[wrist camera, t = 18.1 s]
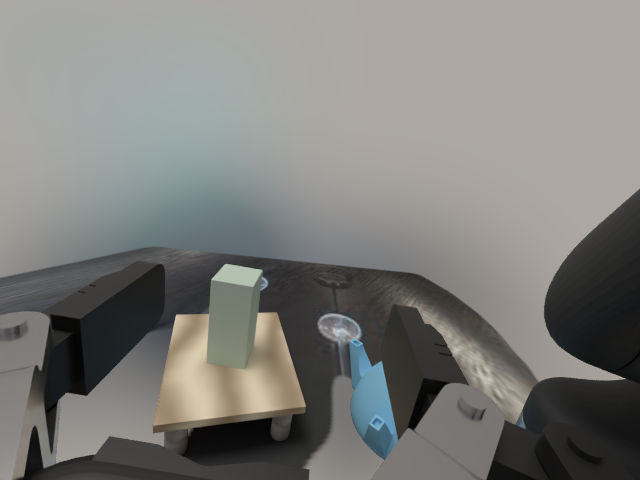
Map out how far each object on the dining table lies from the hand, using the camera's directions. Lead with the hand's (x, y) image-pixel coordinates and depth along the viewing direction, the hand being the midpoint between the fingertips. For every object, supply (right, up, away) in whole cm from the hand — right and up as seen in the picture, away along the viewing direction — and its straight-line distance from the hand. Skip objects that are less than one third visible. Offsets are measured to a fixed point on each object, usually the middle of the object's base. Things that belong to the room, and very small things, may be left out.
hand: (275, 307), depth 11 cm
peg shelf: (-11, -19, +34) cm, 40 cm away
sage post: (-11, -13, +32) cm, 36 cm away
